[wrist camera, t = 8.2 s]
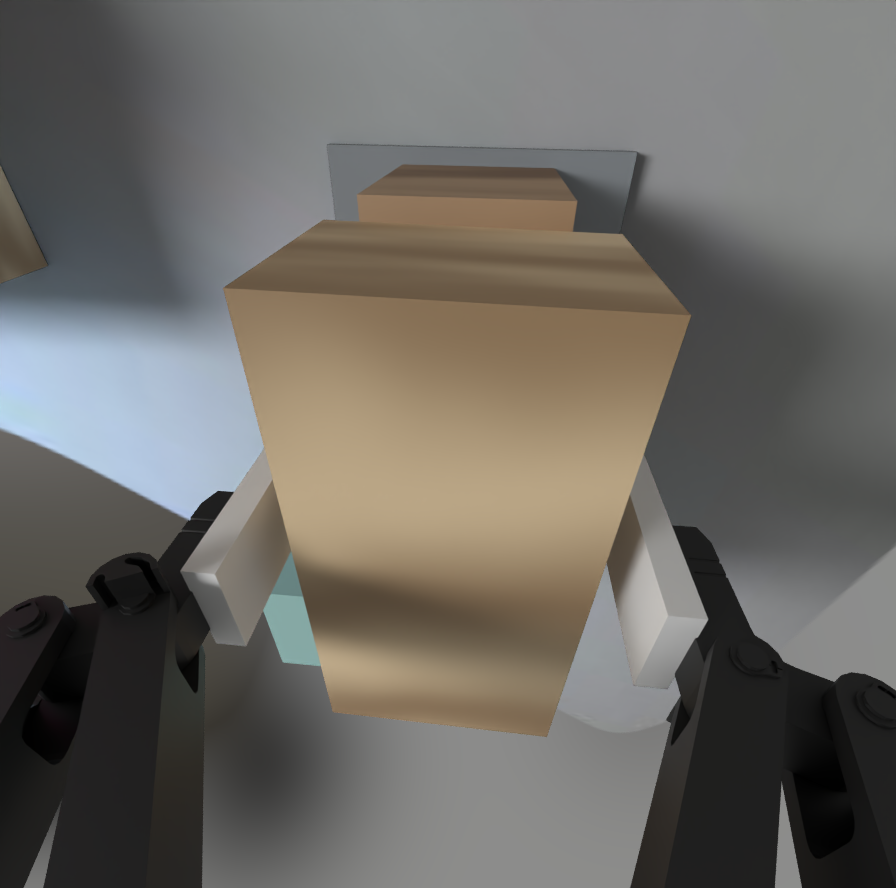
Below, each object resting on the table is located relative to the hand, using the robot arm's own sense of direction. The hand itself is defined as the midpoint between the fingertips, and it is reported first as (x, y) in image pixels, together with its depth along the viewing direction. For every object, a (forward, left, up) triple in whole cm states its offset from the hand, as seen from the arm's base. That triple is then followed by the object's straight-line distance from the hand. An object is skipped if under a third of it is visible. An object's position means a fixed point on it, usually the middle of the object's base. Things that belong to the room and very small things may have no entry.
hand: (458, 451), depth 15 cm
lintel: (0, 0, 0) cm, 0 cm away
